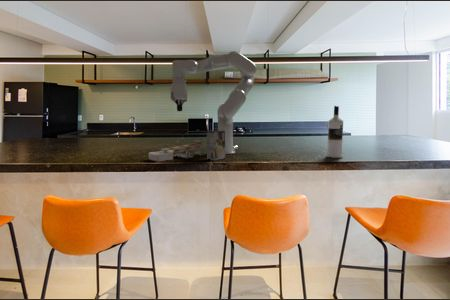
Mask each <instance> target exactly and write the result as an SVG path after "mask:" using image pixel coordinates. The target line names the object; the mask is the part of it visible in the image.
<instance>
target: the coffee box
mask: <svg viewBox="0 0 450 300" xmlns="http://www.w3.org/2000/svg"><path fill="white" fill-rule="evenodd" d="M224 158H225V159H226V154H225V131H218V130H210V131H206V159H207V160H208V159H210V161H219V159H220V160H223V159H224ZM225 159H224V160H225Z"/></svg>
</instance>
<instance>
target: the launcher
mask: <svg viewBox="0 0 450 300" xmlns="http://www.w3.org/2000/svg"><path fill="white" fill-rule="evenodd" d="M197 149H203V141H201V140H193V143H190V144H185V145H184V144H183V145H179V146H173V147H165V148H160V151H164V152H168V153H173V154H176V153H178V152H181V153H182V152H183V151H193V150H197Z"/></svg>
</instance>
